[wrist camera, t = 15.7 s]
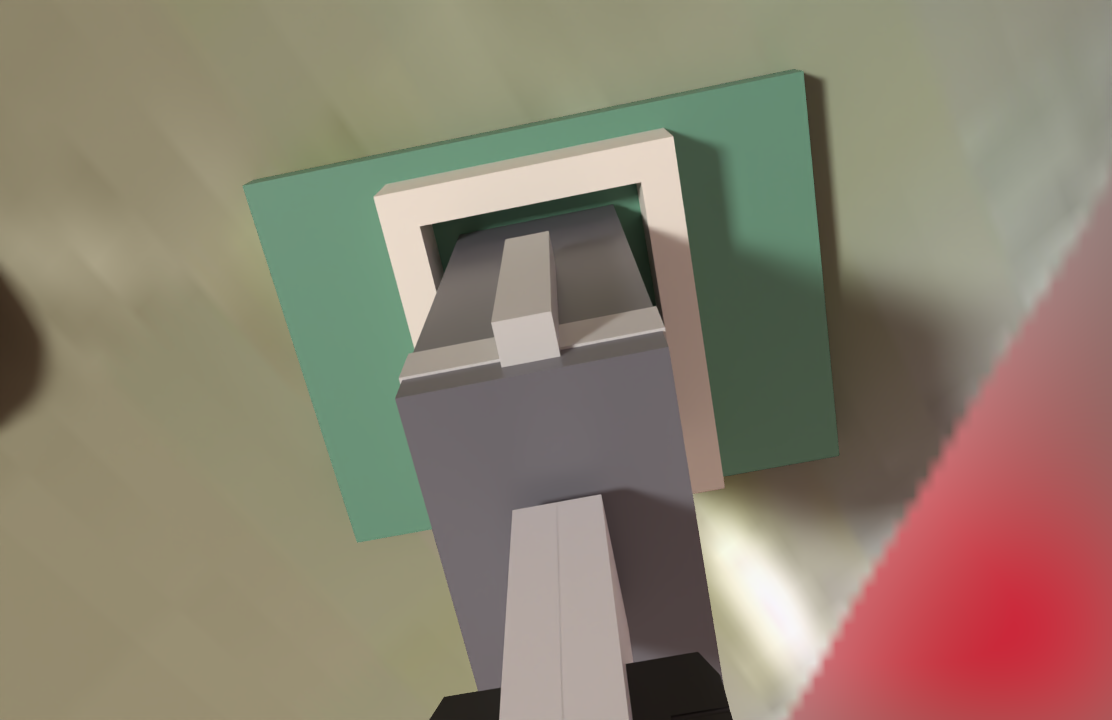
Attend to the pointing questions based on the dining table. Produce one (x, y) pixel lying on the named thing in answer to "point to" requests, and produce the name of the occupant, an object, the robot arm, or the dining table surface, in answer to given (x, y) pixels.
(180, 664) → the dining table surface
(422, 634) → the dining table surface
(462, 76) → the dining table surface
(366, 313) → the header board
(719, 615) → the dining table surface
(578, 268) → the plug
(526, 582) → the robot arm
